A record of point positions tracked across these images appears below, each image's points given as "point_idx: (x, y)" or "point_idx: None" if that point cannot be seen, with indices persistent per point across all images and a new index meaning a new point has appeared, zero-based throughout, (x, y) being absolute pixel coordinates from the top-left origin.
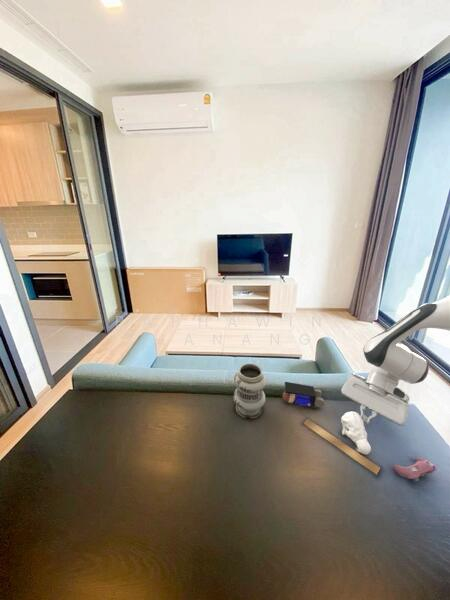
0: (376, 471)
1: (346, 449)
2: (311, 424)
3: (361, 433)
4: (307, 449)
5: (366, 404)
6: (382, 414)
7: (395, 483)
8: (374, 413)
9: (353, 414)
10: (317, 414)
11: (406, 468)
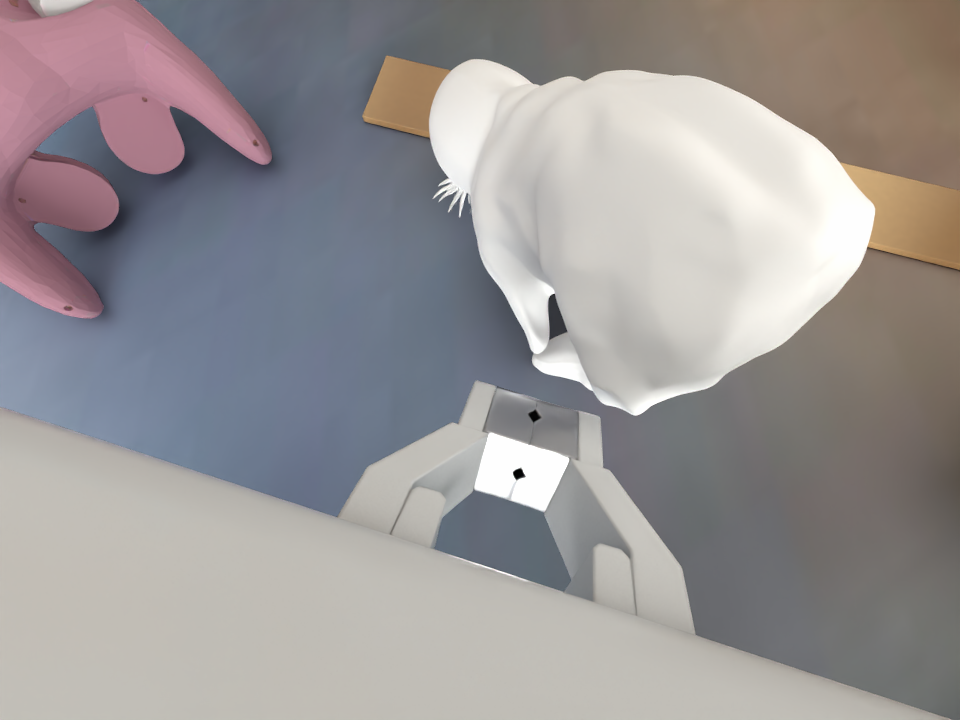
0: (388, 74)
1: None
2: (936, 227)
3: (547, 84)
4: (845, 7)
5: (607, 648)
6: (203, 479)
7: (278, 70)
8: (390, 503)
9: (786, 158)
10: (941, 398)
11: (141, 20)
